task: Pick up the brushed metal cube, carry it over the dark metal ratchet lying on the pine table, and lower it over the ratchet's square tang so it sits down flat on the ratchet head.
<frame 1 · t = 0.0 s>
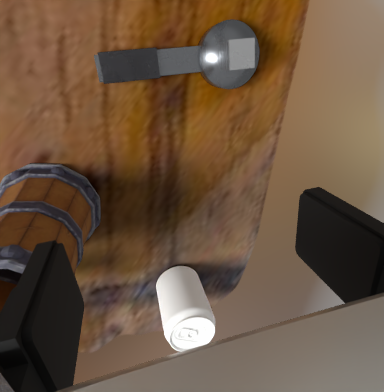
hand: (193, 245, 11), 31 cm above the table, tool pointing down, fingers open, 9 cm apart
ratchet: (224, 56, 38), on the table
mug: (47, 222, 41), on the table
beverage can: (176, 280, 52), on the table
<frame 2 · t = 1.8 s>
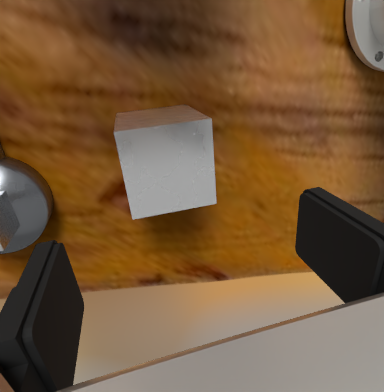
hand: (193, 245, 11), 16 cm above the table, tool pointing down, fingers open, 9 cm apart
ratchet: (3, 199, 24), on the table
brushed metal cube: (156, 142, 25), on the table
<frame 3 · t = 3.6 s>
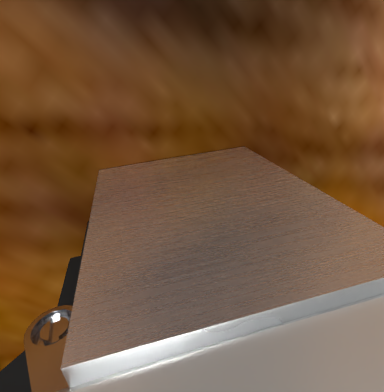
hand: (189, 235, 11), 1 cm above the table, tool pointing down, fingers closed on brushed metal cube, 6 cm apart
brushed metal cube: (183, 221, 12), on the table, touching gripper
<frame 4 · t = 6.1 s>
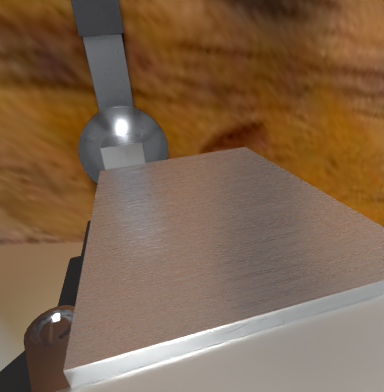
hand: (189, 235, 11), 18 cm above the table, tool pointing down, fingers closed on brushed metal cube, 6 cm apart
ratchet: (124, 146, 27), on the table
brushed metal cube: (183, 221, 12), point 17 cm above the table, touching gripper
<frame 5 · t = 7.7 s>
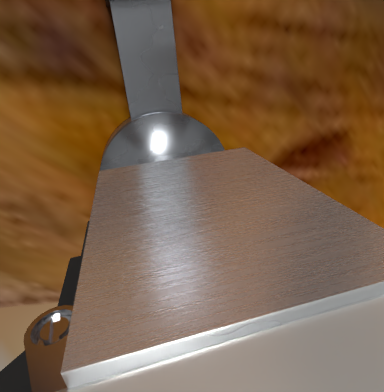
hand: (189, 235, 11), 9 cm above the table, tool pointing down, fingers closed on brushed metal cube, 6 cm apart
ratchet: (162, 168, 19), on the table
brushed metal cube: (183, 222, 12), point 8 cm above the table, touching gripper
when the fingers open (5 cm above the table, at t = 8.9 s): brushed metal cube drops 1 cm, resting on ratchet.
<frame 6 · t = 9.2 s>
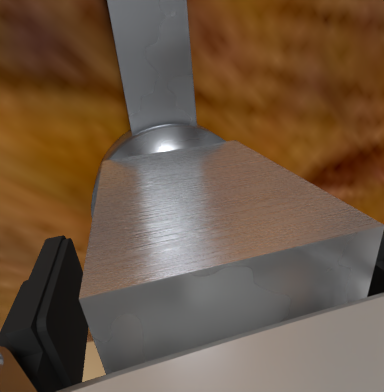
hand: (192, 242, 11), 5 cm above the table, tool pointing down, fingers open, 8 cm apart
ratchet: (169, 191, 16), on the table
brushed metal cube: (179, 209, 13), point 2 cm above the table, touching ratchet
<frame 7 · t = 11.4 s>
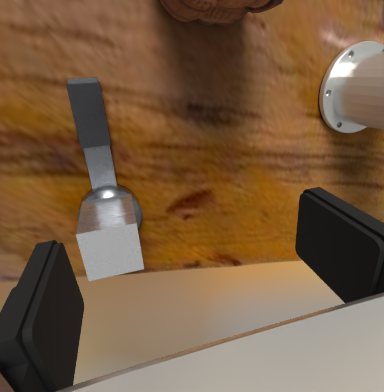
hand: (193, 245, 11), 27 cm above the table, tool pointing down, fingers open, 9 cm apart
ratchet: (110, 210, 38), on the table
brushed metal cube: (111, 218, 36), point 2 cm above the table, touching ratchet
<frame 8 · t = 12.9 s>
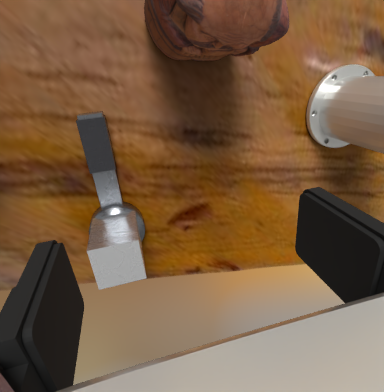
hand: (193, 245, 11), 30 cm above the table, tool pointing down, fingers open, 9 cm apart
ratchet: (117, 224, 43), on the table
brushed metal cube: (118, 232, 41), point 2 cm above the table, touching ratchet
wooden figurine: (188, 33, 35), on the table
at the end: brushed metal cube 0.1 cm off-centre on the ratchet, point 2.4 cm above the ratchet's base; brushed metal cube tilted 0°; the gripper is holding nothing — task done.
